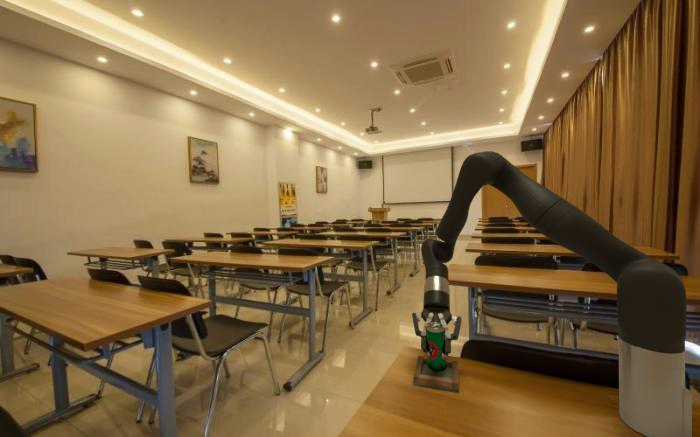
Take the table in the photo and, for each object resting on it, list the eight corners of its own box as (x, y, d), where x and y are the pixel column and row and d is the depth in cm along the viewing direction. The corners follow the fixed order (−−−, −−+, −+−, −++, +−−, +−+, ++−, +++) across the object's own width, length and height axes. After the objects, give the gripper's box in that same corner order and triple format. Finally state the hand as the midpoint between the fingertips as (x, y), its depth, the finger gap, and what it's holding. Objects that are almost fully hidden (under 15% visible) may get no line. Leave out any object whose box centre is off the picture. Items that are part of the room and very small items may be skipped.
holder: (458, 368, 82) (457, 360, 82) (458, 392, 71) (458, 383, 71) (418, 363, 85) (418, 355, 85) (413, 385, 75) (413, 376, 75)
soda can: (447, 374, 75) (446, 329, 75) (427, 372, 77) (426, 328, 76) (445, 363, 80) (443, 321, 80) (426, 362, 81) (425, 320, 81)
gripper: (411, 287, 87) (406, 345, 76) (461, 290, 82) (464, 351, 71) (414, 299, 92) (410, 354, 81) (461, 302, 87) (464, 361, 77)
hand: (435, 352), depth 77 cm, fingers closed on soda can, 5 cm apart
